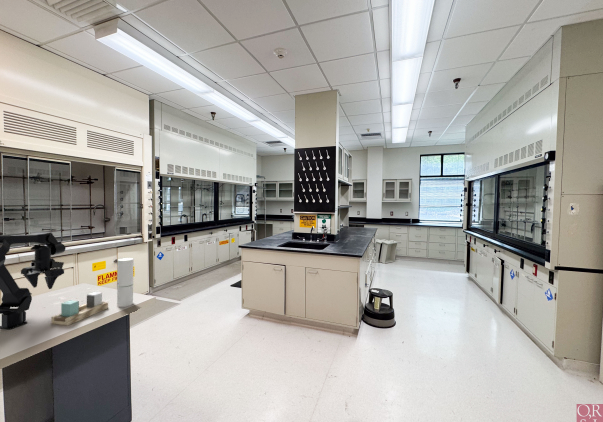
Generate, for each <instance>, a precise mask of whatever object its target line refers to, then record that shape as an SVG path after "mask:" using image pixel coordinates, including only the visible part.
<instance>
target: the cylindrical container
mask: <svg viewBox="0 0 603 422" xmlns="http://www.w3.org/2000/svg"><path fill="white" fill-rule="evenodd" d="M116 278H117V280H116V282H117V283H116V287H117V289H116V291H117V292H116V306H117V307H118V308H125V307H129V306H131V305H133V303H134V258H133V257H124V258H118V259H117V277H116Z"/></svg>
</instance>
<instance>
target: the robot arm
mask: <svg viewBox="0 0 603 422" xmlns="http://www.w3.org/2000/svg"><path fill="white" fill-rule="evenodd" d="M15 244H33V245H32V246H31V248H30V251H32V250H33V251H34V259H32V260H31V263H34V265H33V266H28V267H23V268H22V269H21V270H20V275H22V276H24V277H25V278H26V280H27V281H28V283H30V284H31V286H32V287H33V289H34V288H37V287H38V281H39V276H40V274H44V275H45V276H44V280H45V283H46V286H47V288H48V290H52V289H53V287H54V284H55V283H56V281H57V278H59V277H60V276H63V275H64V274H65V269H64V267H63V266H64V264H65V262H62V261H56V260H55V259H54V258H52V256H56V255H59V254H62V253H64V252H65V251H66V246H65V244H64V243H62V241H61V240H57V238H56V237H55V235H54V234H53V232H41V231H40V232H38V231H36V232H32V233H31V232H30V233H29V234H16V235H14V234H12V235H11V234H0V245H1V246H0V292H1V293H2V296H1V303H0V315H1V325H0V329H3V330H4V329H5V330H12V329H14V328H17V327H21V326H22V325H26V324H28V323H29V321H27V312H26V311H29V309H30V306H31V303H32V300H33V297H32V296H33V295H32V294H33V293H32V292H30V289H29V288H28V287H20V286H19V285H18V284H17V282H16V281H15V279H14V277H13V276H12V274H11V272H10V271H9V270H8V268H7V266H6V265H5V262H6V255H7V254H8V253H9V252H10V249H11V245H15Z"/></svg>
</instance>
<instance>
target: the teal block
mask: <svg viewBox="0 0 603 422" xmlns="http://www.w3.org/2000/svg"><path fill="white" fill-rule="evenodd" d="M60 306H61V312H60V314H61V316H62V317H70V316H73V315H75V314H78V313H79V306H80V301H78V300H68V301H67V300H66V301H63V302H62V303H61V305H60Z"/></svg>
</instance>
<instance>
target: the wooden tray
mask: <svg viewBox="0 0 603 422" xmlns="http://www.w3.org/2000/svg"><path fill="white" fill-rule="evenodd" d="M108 308H109V302H108V301H102V304H100V305H97V306H95V307H92V308H87V302H86V303H84V304H82V305H79V313H78V314H75V315H73V316H70V317H62V316H61V313H58V314H55V315H53V316H51V317H50V318H51V322H50V323H51V325H53V324H54V325H59V326H60V325H61V326H70V325H72V324H74V323H77V322H79V321H82V320H84V319H86V318H89V317H91V316H93V315H96V314H98V313H100V312H102V311H104V310H106V309H108Z"/></svg>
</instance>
